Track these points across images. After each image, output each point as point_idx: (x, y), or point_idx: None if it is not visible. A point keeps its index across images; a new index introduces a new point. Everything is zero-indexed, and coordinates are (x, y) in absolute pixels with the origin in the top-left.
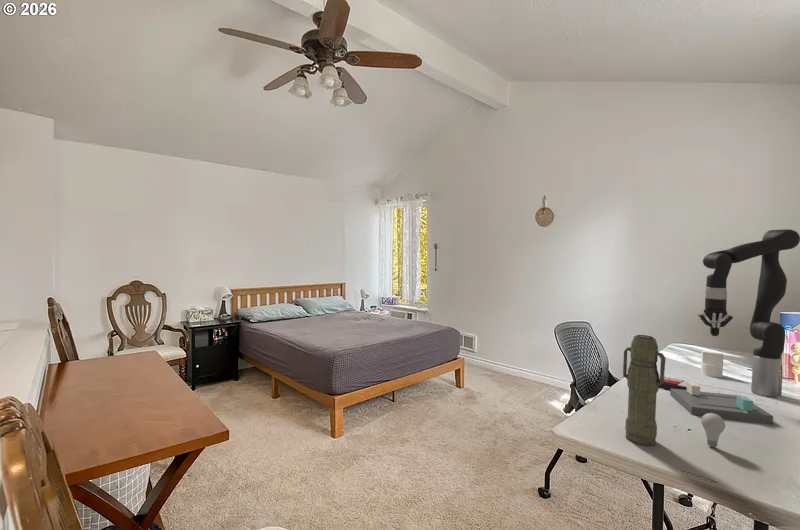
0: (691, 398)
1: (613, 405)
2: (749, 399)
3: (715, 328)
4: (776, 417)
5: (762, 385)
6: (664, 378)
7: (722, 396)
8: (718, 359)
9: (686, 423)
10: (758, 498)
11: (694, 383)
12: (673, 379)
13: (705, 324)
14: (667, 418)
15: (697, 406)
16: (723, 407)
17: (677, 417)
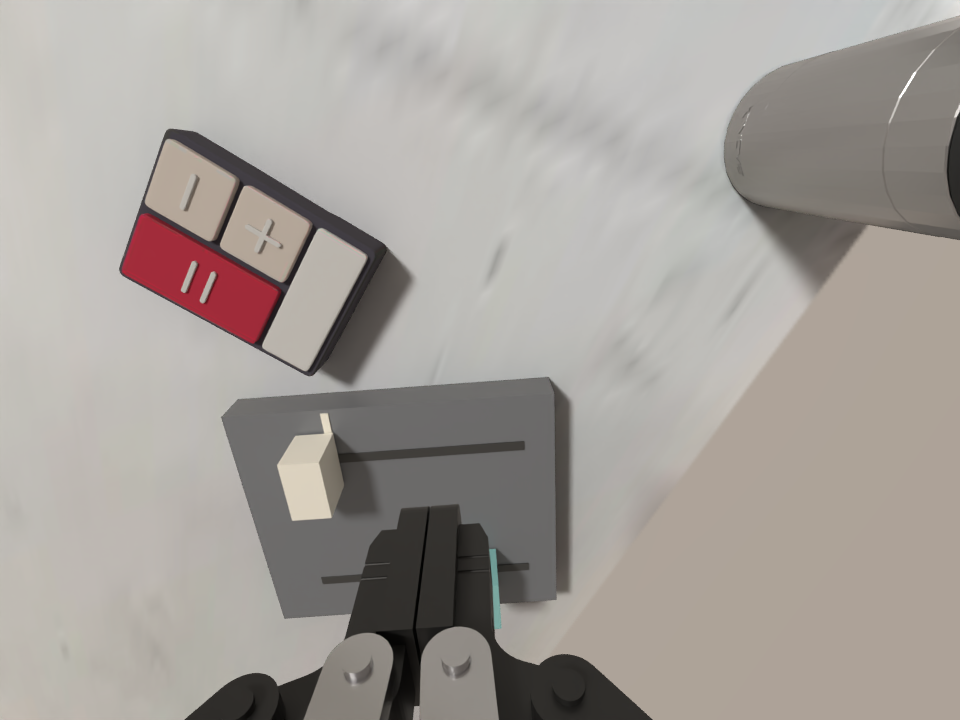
0: (300, 527)
1: (25, 613)
2: (496, 614)
3: (419, 695)
4: (606, 506)
5: (779, 202)
6: (192, 222)
7: (451, 448)
8: None
9: (266, 665)
10: None
11: (312, 478)
12: (247, 231)
13: (213, 708)
14: (211, 651)
15: (306, 608)
16: None
17: (244, 633)
